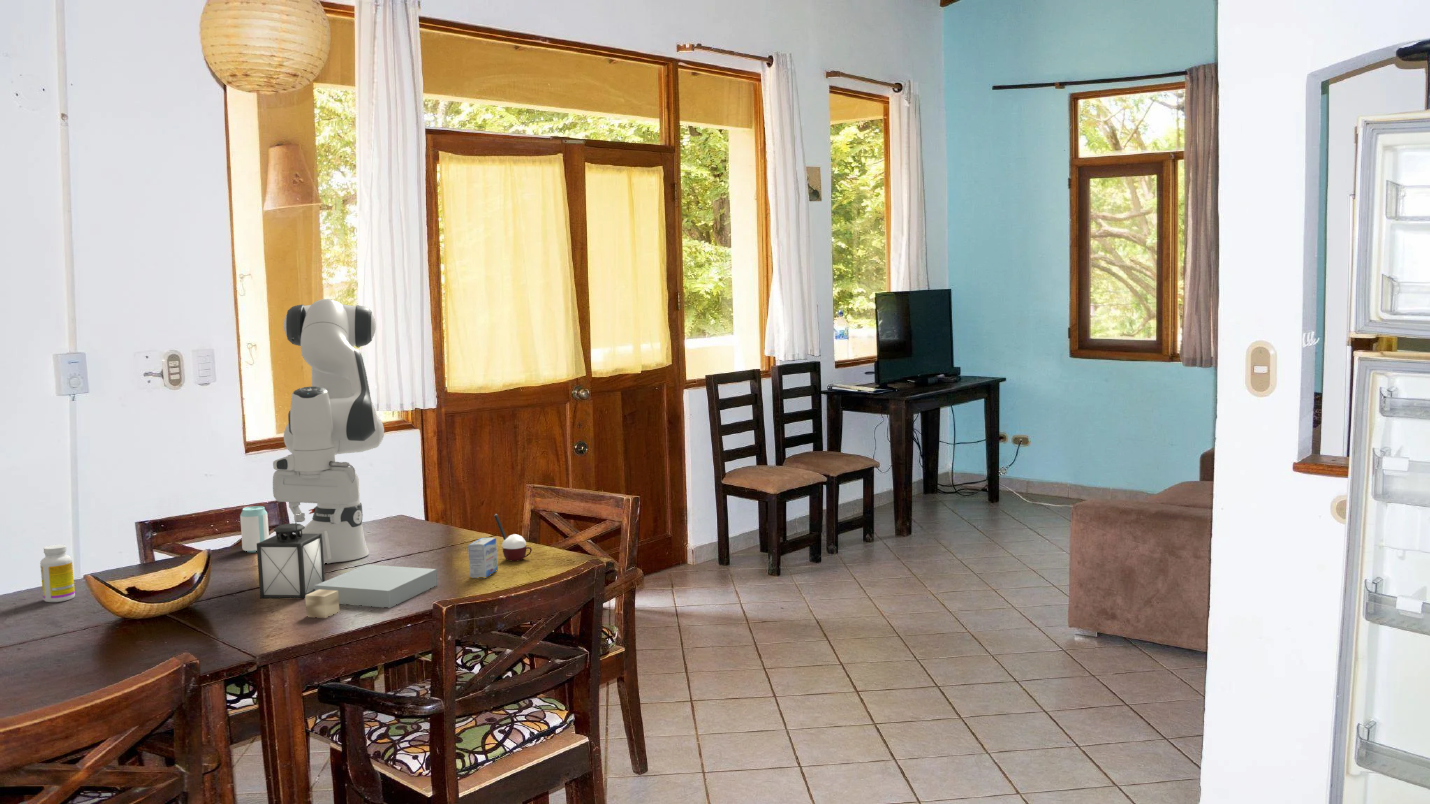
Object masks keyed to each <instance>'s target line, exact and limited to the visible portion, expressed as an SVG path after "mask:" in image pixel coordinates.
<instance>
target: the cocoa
mask: <svg viewBox="0 0 1430 804" xmlns="http://www.w3.org/2000/svg"><path fill="white" fill-rule="evenodd" d="M494 519H495V521H496V524H497V527H498V530H499V531H500V534H501V535H502V539H503V540H502V543H501V544H502V545H501V546H502V548H501V549H502V553H503V556H504V558H505V559H506V560H507V561H508V560H512V561H511V562H518V561H517V560H520V561H522V560H523V559H525V558H526V557H528V556H530V554H531V553H532V550H533V549H532V547H530V546H527V543H526V542H527V541H526V540H525V538H524V537H523V536H522V535H519V534H516V533H513V534H510V535H508V536H507V535H506V533H505V532H506V531H505V530H504V527H503V526H502V523H501V519H500V517H499V516H498V514H497V513H495V514H494ZM527 549H529V552H528V553H527Z"/></svg>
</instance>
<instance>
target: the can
mask: <svg viewBox="0 0 1430 804" xmlns="http://www.w3.org/2000/svg"><path fill="white" fill-rule="evenodd" d="M239 517H240V530H241V532H240V534H241V547H242V550H243V552H244V551H245V552H246V551H247V552H246V553H257V552H256V551H257V543H260V542H262V541H264V540H266V539H269V538H270V534H269V533H270V531H269V519H268V517H269V516H268V512H267V510H266V509H265V506H263V505H262V506H261V505H260V506H259V505H255V506H253V505H252V506H247V507H243V508H242V511H241V513H240V515H239Z"/></svg>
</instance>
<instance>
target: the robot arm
mask: <svg viewBox="0 0 1430 804" xmlns="http://www.w3.org/2000/svg"><path fill="white" fill-rule="evenodd" d="M376 329H377V323H376V318H375V316H374V314H373V311H372V310H371V309H370V307H368V306H364V305H358V304H357V305H356V306H355V305H350V304H343V303H342V304H341V303H340V302H339V301H336V300H333V299H331V298H323V299H319V300H316V301H314V302H313V303H312V304H309V305H308V304H307V305H305V304H297V305H294V306H291V307H290V308H289V309H288V310H287V312H286V315H285V316H284V319H283V330H284V333H285V336H286V338H287V341H289V343H290V344H292V345H295V346H299V347H300V353H301V356H302V358H303V360H304V362H306V363H307V365H309V366H310V367H311V386H304V387H300V388H297V389H295V390H294V391H293V392H292V394H291V399H290V410H289V411H288V414H287V416H288V417H287V419H288V423H287V424H286V426H285V429H284V431H283V443H284V445H285V447H286V450H288V451H289V453H290V454H288V455H287V456H284V457H281V458H278V459H275V460H274V461H272V466H273V469H274V470H275V471H274V473H273V476H272V495H273V498H274V499H275V500H276V501H277V502H279V503H280V502H281V503H282V502H283V503H286V502H287V503H288V507H289V510H290V511H291V512H292V514H293V518H294V519H293V520H294V523H295V522H296V523H303V522H305V521H306V518H305V516H306V515H305V513H304V512H302V510H301V509H300V507H299V506H301V503H302V504H304V503H305V504H317V505H316V506H315V507H313V508H311V509H308V512H309V513H308V515H311V514H313V515H312V517H311V520H310V522H308V523H307V524H306V525H305V528H304V529H303V530H302V534H319V533H322V540H323V556H324V565H325V563H327V564H331V563H341V562H348V561H354V560H359V559H361V558H365V557H367V556H369V555H370V551H369V549H368V546H367V542H366V538H365V533H364V528H363V517H364V514H363V504H362V502H361V499H360V498H361V497H360V479H359V475H357V473H356V468H355V467H354V466H353V465H352V464H350V462H347V461H336V455H342V454H353V453H363V452H366V451H369V450H373V449H376V448H379V446H380V444H382V442H383V440H384V436H385V427H384V424H383V421H382V420H381V419H380V417H379V416H378V415H377V410H376V408H375V406H374V403H373V401H372V398H371V391H370V384H369V380H368V376H367V371H366V366H365V362H364V359H363V358H364V357H363V355H362V352H361V351H360V349H358V348H361V347H364V346H367V345H369V344H370V343H372V341H373V338H374V336H375V333H376ZM355 347H356V348H355ZM300 534H301V531H300Z"/></svg>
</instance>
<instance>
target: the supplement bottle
mask: <svg viewBox="0 0 1430 804" xmlns="http://www.w3.org/2000/svg"><path fill="white" fill-rule="evenodd" d="M43 553H44V557H43V558H42V559H41V560H40V563H39V564H40V566H39V567H40V575H41V576H40V577H41V588H42V597H43V598H42V599H43V601H44V602H46V603H61V602H65V601H66V602H67V601H68V600H72V599H73V598H75V596H76V590H75V579H74V566H73V559H72V556H70V555H69V554H67V545H65V544H52V545H47V546H44V547H43Z"/></svg>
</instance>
